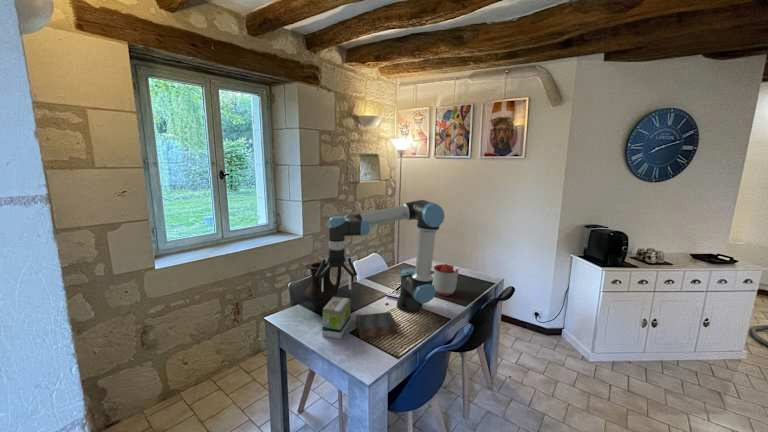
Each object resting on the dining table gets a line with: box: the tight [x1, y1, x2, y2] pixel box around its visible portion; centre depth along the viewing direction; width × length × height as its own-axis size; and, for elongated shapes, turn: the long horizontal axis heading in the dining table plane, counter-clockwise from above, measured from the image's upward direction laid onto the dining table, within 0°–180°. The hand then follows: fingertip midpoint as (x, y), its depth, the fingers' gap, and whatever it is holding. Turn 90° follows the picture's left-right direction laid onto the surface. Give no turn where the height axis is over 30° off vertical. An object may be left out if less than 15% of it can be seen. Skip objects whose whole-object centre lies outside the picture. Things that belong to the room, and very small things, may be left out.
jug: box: [304, 259, 342, 313], centre depth 182 cm, size 21×18×30 cm
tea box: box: [321, 296, 352, 340], centre depth 161 cm, size 15×10×15 cm
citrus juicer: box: [433, 263, 460, 297], centre depth 209 cm, size 16×17×20 cm
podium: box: [355, 311, 399, 339], centre depth 164 cm, size 19×15×4 cm
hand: (336, 289), depth 158 cm, fingers open, 13 cm apart
